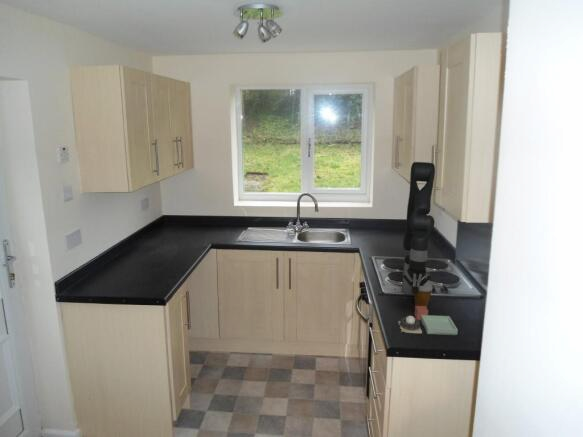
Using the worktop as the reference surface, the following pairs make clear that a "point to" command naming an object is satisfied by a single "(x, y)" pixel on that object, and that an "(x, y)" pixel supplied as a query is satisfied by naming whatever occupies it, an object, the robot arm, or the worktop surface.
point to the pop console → (409, 326)
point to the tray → (438, 325)
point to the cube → (420, 311)
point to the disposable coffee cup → (423, 295)
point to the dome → (410, 320)
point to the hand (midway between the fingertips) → (414, 293)
